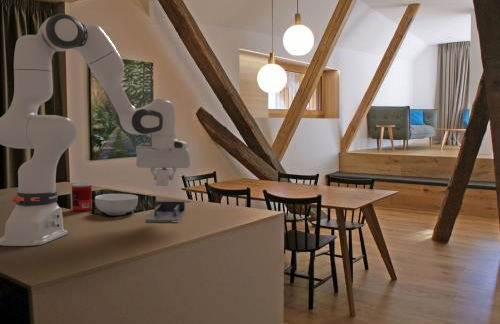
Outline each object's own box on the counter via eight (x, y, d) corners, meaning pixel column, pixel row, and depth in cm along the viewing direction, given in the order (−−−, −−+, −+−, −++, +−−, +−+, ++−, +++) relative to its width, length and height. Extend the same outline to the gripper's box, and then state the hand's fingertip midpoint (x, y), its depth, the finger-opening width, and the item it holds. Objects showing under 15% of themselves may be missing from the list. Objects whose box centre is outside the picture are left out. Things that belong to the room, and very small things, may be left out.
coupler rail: (178, 222, 174) (178, 210, 173) (145, 222, 174) (145, 210, 173) (185, 211, 196) (185, 200, 195) (156, 211, 196) (156, 200, 195)
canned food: (95, 208, 199) (94, 183, 198) (86, 212, 191) (86, 185, 190) (77, 208, 199) (77, 182, 198) (68, 211, 191) (68, 185, 191)
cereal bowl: (122, 219, 179) (122, 200, 178) (86, 215, 184) (85, 198, 183) (145, 211, 195) (145, 194, 194) (112, 208, 200) (111, 192, 199)
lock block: (168, 186, 173) (168, 168, 173) (156, 185, 173) (156, 168, 173) (171, 183, 180) (171, 166, 180) (159, 183, 180) (159, 166, 180)
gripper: (133, 143, 172) (134, 180, 173) (189, 144, 172) (189, 181, 174) (137, 142, 178) (138, 178, 179) (191, 143, 179) (191, 178, 180)
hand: (163, 179), depth 177 cm, fingers closed on lock block, 4 cm apart
